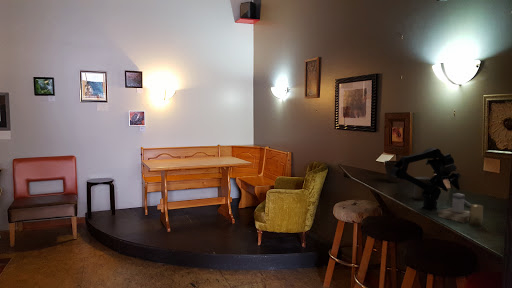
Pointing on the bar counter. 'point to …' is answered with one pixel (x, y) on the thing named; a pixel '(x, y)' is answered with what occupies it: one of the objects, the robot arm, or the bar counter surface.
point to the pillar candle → (418, 190)
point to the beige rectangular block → (476, 215)
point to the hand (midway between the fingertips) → (453, 190)
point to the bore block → (454, 215)
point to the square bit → (458, 203)
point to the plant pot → (388, 167)
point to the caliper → (467, 203)
